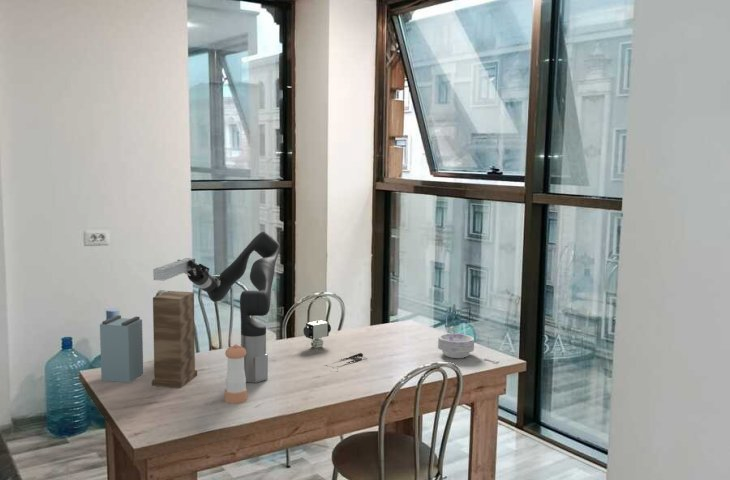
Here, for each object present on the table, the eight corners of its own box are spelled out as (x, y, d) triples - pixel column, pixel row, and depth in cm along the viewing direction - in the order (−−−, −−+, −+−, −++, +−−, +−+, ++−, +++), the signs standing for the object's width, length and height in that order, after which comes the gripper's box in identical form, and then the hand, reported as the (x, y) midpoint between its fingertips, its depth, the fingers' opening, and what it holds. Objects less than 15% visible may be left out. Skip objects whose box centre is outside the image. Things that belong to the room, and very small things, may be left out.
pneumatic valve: (331, 346, 291) (331, 319, 290) (309, 350, 284) (309, 323, 282) (323, 343, 295) (323, 316, 294) (301, 347, 288) (302, 320, 286)
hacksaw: (360, 355, 280) (360, 351, 280) (378, 361, 272) (378, 357, 272) (316, 367, 263) (316, 363, 263) (333, 373, 256) (333, 369, 256)
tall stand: (180, 388, 235) (179, 299, 231) (151, 385, 237) (150, 298, 233) (197, 375, 249) (196, 291, 245) (169, 373, 251) (168, 290, 247)
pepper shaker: (250, 396, 228) (250, 342, 226) (241, 404, 221) (241, 348, 219) (230, 394, 230) (230, 341, 227) (221, 402, 223) (221, 346, 220)
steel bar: (163, 280, 238) (163, 269, 238) (153, 280, 239) (153, 269, 239) (195, 268, 264) (195, 258, 263) (185, 267, 265) (185, 258, 264)
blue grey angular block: (129, 382, 240) (128, 323, 237) (101, 380, 241) (99, 321, 239) (143, 374, 249) (142, 316, 247) (116, 371, 251) (114, 315, 248)
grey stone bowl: (462, 349, 291) (463, 331, 290) (480, 359, 277) (481, 340, 276) (431, 351, 286) (432, 333, 285) (447, 362, 272) (448, 343, 271)
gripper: (186, 267, 276) (168, 252, 261) (218, 269, 274) (202, 253, 258) (182, 284, 273) (164, 270, 258) (214, 286, 271) (198, 272, 255)
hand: (183, 262), depth 258 cm, fingers closed on steel bar, 4 cm apart
